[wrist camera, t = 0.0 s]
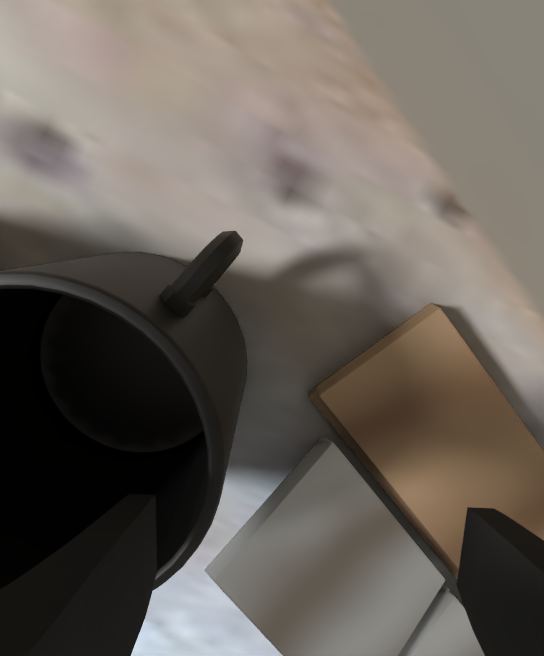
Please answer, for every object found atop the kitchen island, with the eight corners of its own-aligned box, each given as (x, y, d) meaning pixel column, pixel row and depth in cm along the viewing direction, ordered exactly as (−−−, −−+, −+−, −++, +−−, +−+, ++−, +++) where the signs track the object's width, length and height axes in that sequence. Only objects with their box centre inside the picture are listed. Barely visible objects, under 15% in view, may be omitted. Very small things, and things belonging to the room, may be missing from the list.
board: (680, 648, 23) (701, 670, 22) (565, 711, 24) (580, 736, 23) (430, 303, 20) (440, 308, 18) (307, 392, 21) (309, 402, 19)
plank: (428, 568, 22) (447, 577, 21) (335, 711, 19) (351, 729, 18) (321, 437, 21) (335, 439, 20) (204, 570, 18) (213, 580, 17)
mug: (332, 307, 20) (376, 371, 11) (157, 496, 22) (75, 680, 13) (158, 152, 19) (50, 85, 10) (-10, 368, 21) (-226, 475, 12)
